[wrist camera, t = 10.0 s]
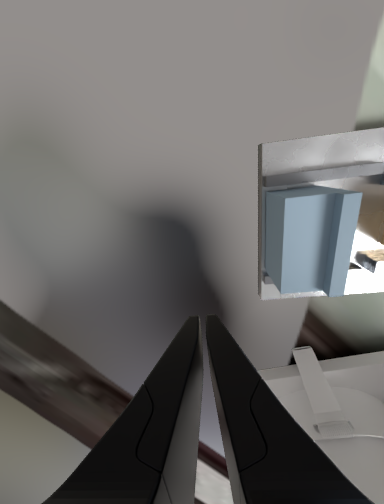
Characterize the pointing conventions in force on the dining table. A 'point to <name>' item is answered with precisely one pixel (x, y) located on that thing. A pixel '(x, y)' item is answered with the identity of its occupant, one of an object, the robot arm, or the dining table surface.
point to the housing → (310, 238)
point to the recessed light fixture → (339, 411)
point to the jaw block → (383, 240)
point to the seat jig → (335, 176)
